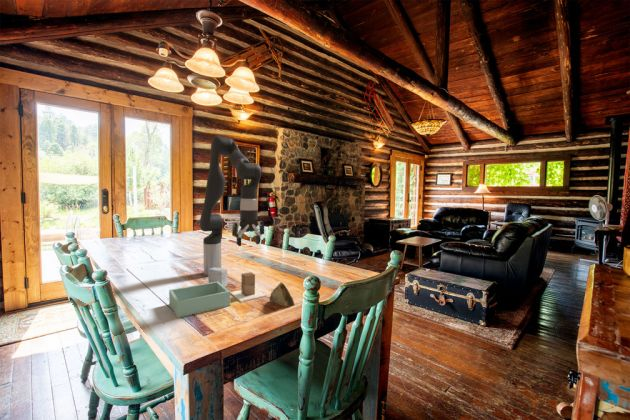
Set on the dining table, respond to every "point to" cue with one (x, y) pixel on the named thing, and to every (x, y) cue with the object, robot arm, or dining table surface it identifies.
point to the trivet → (245, 298)
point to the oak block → (248, 284)
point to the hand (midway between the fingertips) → (248, 244)
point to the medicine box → (218, 275)
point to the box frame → (198, 298)
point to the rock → (281, 296)
